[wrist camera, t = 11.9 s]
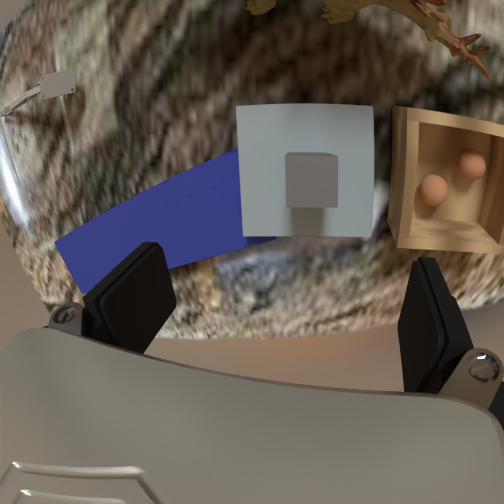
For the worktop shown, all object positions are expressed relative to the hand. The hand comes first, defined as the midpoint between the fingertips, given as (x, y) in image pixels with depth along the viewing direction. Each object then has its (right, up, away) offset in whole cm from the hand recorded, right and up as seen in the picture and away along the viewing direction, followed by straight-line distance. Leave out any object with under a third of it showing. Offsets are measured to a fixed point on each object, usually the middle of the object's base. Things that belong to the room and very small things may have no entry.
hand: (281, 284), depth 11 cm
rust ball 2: (+20, +9, +11) cm, 24 cm away
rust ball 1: (+16, +7, +13) cm, 22 cm away
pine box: (+18, +9, +14) cm, 25 cm away
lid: (+4, +9, +16) cm, 19 cm away
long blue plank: (-15, +4, +27) cm, 32 cm away
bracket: (-33, +25, +21) cm, 47 cm away
